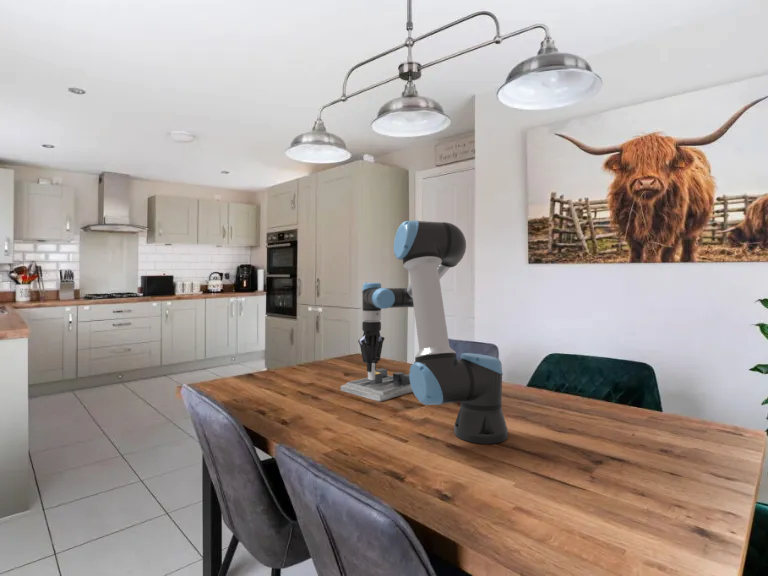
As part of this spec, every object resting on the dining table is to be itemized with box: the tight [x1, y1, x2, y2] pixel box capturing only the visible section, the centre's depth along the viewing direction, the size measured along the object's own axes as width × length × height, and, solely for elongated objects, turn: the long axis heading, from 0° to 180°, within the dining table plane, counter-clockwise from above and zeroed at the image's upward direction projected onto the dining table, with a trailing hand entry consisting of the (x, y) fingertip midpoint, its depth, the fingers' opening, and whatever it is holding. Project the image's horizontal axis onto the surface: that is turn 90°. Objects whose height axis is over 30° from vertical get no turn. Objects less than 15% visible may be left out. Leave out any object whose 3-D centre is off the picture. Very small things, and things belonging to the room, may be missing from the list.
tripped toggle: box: [370, 371, 382, 384], centre depth 176 cm, size 4×3×4 cm
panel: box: [340, 367, 413, 402], centre depth 175 cm, size 26×22×6 cm
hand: (371, 379), depth 174 cm, fingers closed
